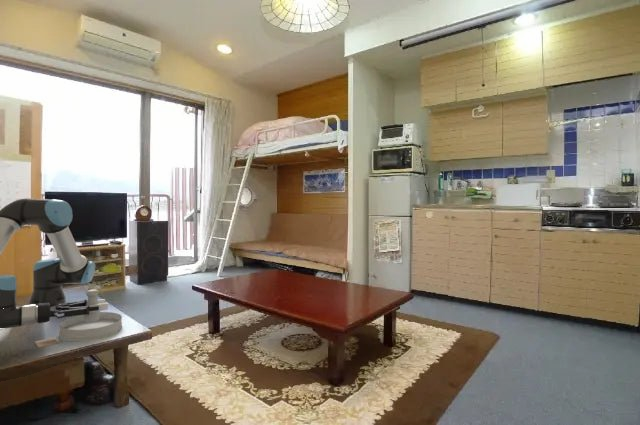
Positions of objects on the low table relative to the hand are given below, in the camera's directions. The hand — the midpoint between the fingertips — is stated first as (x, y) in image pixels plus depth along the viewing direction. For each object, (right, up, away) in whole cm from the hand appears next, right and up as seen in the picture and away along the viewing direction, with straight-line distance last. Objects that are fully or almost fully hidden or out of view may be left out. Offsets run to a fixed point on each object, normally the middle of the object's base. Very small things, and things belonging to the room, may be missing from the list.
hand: (106, 304), depth 146 cm
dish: (-4, -11, -3) cm, 12 cm away
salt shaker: (-4, -6, -3) cm, 8 cm away
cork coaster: (-12, -10, -17) cm, 23 cm away
